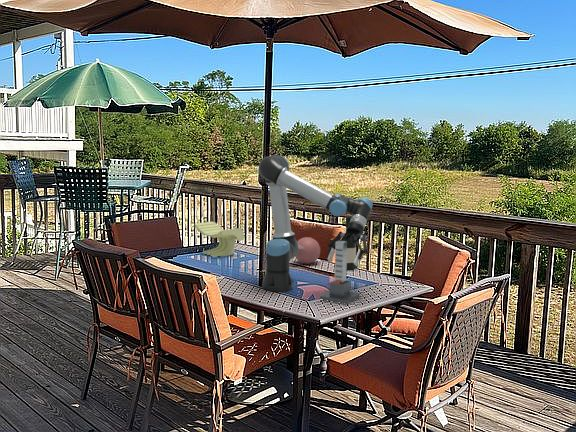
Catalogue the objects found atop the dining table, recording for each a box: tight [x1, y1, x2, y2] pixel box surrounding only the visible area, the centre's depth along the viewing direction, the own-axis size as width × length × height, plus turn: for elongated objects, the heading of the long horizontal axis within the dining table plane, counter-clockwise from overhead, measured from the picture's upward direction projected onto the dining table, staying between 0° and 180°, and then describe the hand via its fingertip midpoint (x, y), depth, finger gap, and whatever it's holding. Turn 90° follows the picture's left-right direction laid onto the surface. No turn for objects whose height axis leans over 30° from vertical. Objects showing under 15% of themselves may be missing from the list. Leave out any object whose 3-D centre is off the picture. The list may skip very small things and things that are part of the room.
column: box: [334, 241, 347, 284], centre depth 270 cm, size 4×4×20 cm
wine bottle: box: [343, 215, 357, 271], centre depth 327 cm, size 8×8×30 cm
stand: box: [319, 279, 361, 305], centre depth 272 cm, size 14×14×9 cm
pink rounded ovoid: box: [294, 236, 321, 265], centre depth 337 cm, size 15×20×15 cm
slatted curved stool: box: [194, 221, 245, 258], centre depth 361 cm, size 30×16×18 cm, turn 40°
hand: (341, 262), depth 271 cm, fingers open, 13 cm apart
